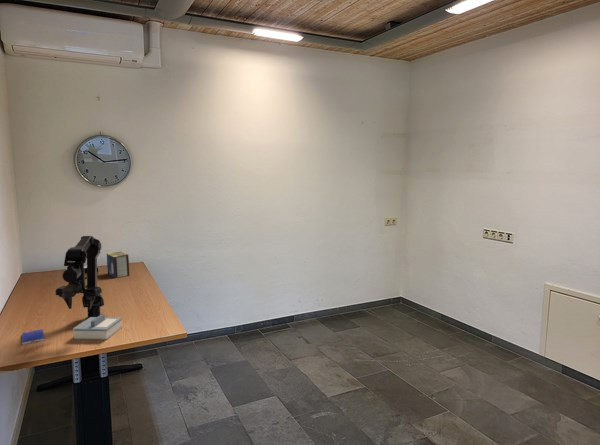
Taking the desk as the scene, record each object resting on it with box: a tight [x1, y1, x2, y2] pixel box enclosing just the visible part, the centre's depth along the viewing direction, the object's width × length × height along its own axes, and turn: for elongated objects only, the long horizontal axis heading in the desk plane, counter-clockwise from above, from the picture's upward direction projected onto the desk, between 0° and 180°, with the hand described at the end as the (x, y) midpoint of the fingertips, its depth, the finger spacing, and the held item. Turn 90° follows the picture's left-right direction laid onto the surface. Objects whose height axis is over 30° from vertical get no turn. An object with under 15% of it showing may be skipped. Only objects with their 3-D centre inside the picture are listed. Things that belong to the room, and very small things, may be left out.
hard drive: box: [21, 328, 45, 345], centre depth 184 cm, size 2×8×12 cm
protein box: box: [106, 251, 131, 279], centre depth 294 cm, size 10×15×16 cm
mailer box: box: [73, 319, 123, 341], centre depth 189 cm, size 14×15×4 cm
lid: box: [72, 314, 123, 331], centre depth 188 cm, size 14×15×3 cm
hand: (80, 309), depth 186 cm, fingers open, 9 cm apart
